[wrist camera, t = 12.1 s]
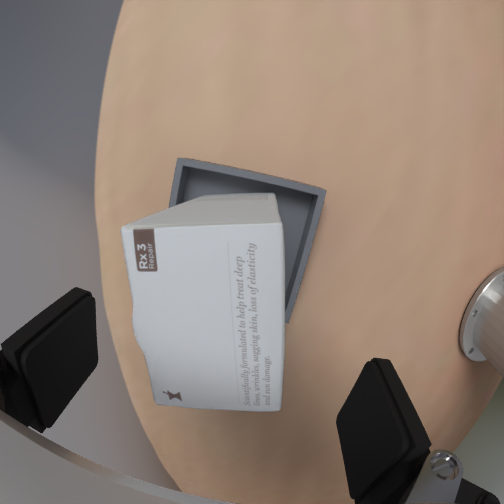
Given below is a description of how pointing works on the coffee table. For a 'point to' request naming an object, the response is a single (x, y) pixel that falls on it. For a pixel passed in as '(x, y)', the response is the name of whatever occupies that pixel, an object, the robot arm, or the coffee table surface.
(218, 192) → the tray
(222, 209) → the skincare box
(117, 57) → the coffee table surface
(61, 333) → the robot arm
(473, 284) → the coffee table surface
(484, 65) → the coffee table surface
